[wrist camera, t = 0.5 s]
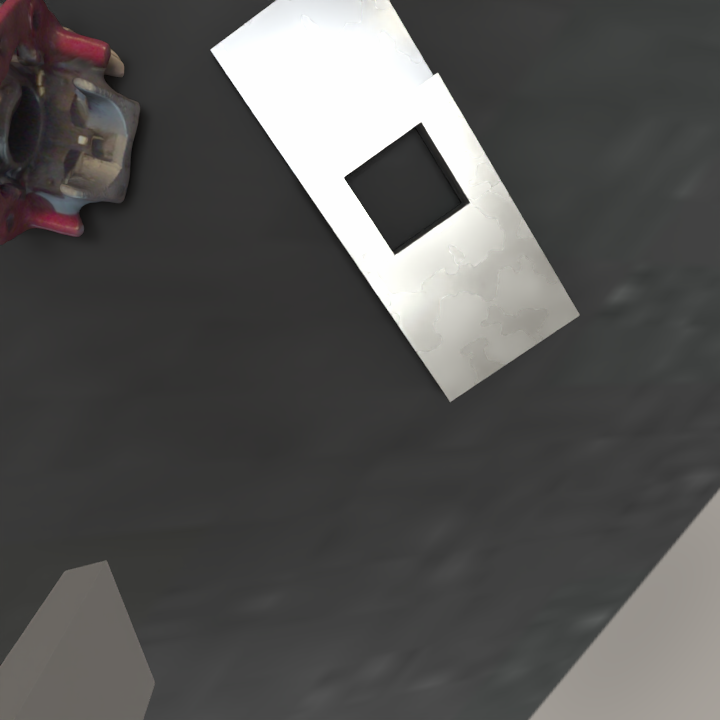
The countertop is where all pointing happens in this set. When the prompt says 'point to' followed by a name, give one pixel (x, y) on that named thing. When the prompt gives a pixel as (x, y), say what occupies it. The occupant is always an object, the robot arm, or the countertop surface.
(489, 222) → the light grey flat block
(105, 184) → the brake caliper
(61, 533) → the countertop surface
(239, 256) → the countertop surface
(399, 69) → the lower link
